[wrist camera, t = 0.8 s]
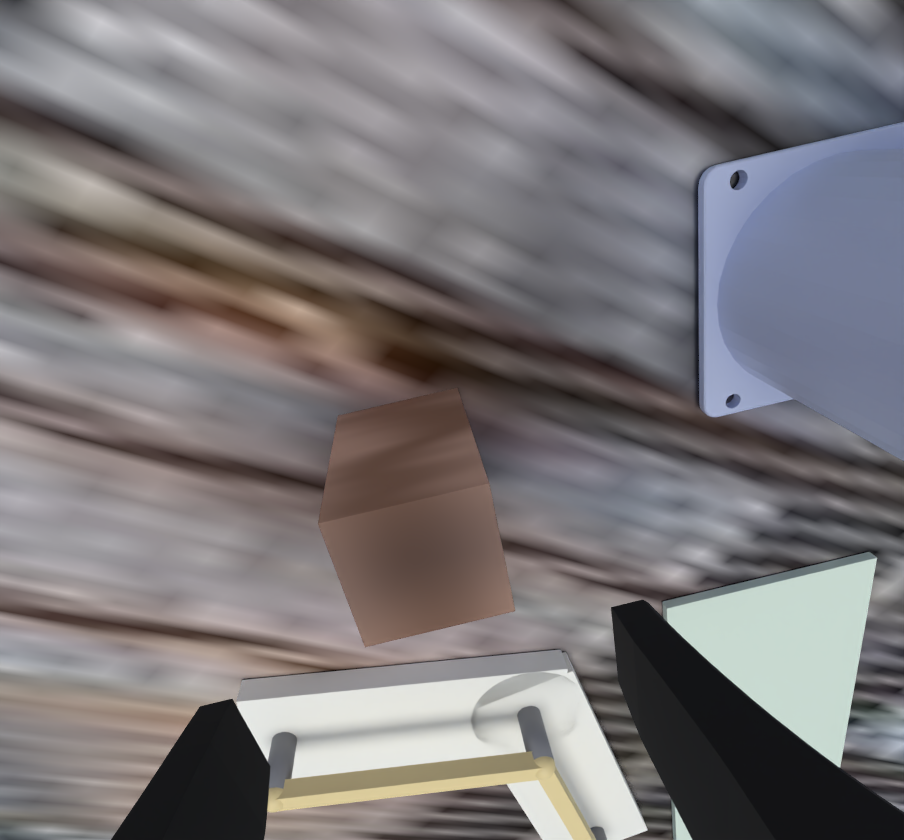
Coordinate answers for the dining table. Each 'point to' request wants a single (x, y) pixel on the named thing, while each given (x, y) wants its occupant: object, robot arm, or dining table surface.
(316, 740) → the wire track
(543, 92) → the dining table surface
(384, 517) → the rust block
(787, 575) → the end mat
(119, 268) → the dining table surface
